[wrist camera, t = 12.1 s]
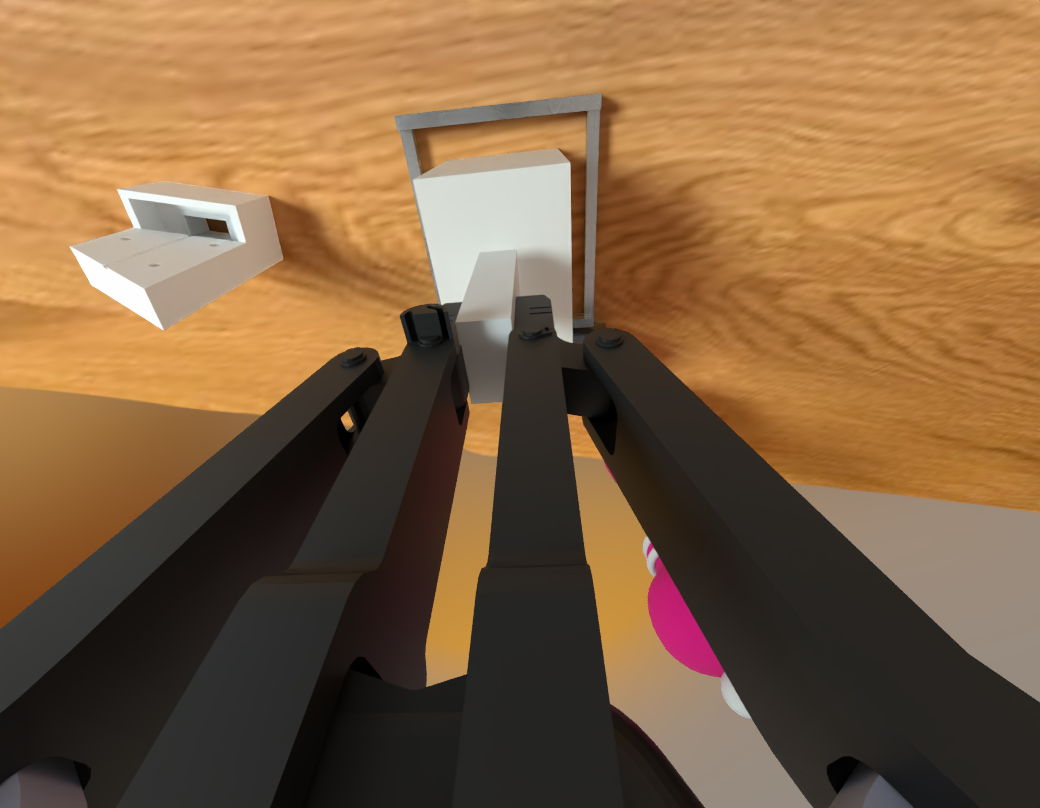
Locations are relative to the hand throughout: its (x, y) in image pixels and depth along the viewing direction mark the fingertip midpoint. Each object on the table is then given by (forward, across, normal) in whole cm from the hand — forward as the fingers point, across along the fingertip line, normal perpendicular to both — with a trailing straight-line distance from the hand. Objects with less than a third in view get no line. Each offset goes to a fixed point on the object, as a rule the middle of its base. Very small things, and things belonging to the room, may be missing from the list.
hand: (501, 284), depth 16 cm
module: (+9, 0, 0) cm, 9 cm away
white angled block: (+9, -17, +2) cm, 19 cm away
